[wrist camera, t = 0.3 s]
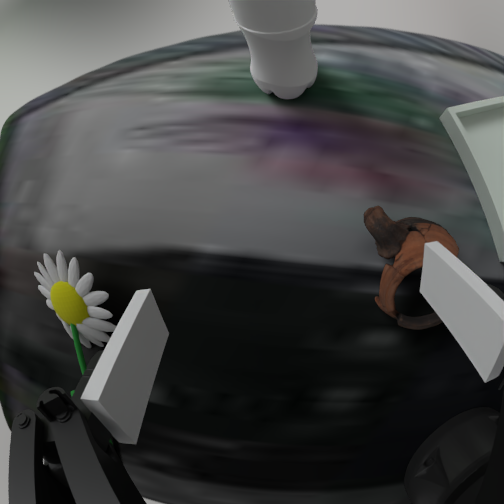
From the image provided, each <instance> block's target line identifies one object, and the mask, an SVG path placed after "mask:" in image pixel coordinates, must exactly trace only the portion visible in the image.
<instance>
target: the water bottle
mask: <svg viewBox="0 0 504 504" xmlns="http://www.w3.org/2000/svg"><path fill="white" fill-rule="evenodd" d="M228 1H229V4H230V7H231V9H232V12H233V17H234V20H235V21H236V23H237V24H238V25H239V27H240V29H241V31H242V32H243V34H244V36H245V38H246V40H247V43H248V46H249V49H250V53H251V65H250V71H251V74H252V77H253V79H254V81H255V83H256V84H257V85H258V87H259V88H260V89H261V90H262V91H263V92H265V93H268V94H271V93H272V92H273V93H274V94H275V95H276V96H277V97H279V98H282V99H294V98H297V97H298V96H300V95H301V94H302V93H303V92H304V90H305V89H306V87H307V88H310V87H311V86H312V85H313V84H314V82H315V79H316V76H317V71H318V63H317V59H316V56H315V54H314V52H313V49H312V45H311V40H310V29H311V28H312V27H313V25H314V23H315V20H316V17H317V7H316V5H315V0H228Z"/></svg>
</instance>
